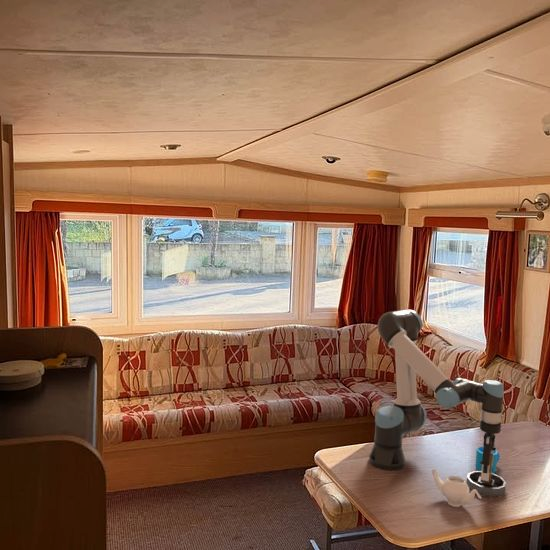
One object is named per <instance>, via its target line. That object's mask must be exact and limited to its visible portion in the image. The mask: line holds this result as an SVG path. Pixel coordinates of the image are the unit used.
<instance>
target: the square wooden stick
mask: <svg viewBox="0 0 550 550" xmlns="http://www.w3.org/2000/svg"><path fill="white" fill-rule="evenodd" d="M492 460H493V454H491V455H490V462H489V463H490V469H489V481H484V480H482V482H484V483H488V484H491V472H492ZM486 462H487V461H486Z"/></svg>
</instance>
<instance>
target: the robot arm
mask: <svg viewBox="0 0 550 550" xmlns="http://www.w3.org/2000/svg"><path fill="white" fill-rule="evenodd" d="M422 329H423V320H422V317H421V316H420V314H418V313H417V312H416V311H415V310H413V309H399V310H393V311H388V312H385V313H383V314H382V315H381V316H380V318H379V319H378V322H377V331H378V335H379V336H380V338H381V339H382V341H383V342H384V343H385V344H386V345H387V347H388V348H390V349H394V357H395V359H394V361H395V378H396V383H395V384H396V398H395V399H394V400H393V405H388V406H387V405H385V406H382V407H379V408H378V409H377V411H376V412H375V418H374V442H373V446H372V448H371V451H370V453H369V456H368V458H369V459H368V462H369V463H370V465H371V466H373V467H374V468H377V469H378V470H379V469H380V470H383V471H392V472H393V471H399V470H400V471H401V470H402V469H404V468H405V466H406V459H405V458H406V457H405V454H404V450H403V436H407V435H409V434H411V433H414V432H417V431H419V430H420V429H421V428H423V427H424V426H425V423H426V421H427V411H426V409H425V408H424V406H423V405H422V403H421V400H420V399H419V398H418V392H417V391H418V390H417V375H418V376H419V377H420V378H421V379H422V380H423V381H424V382H425V384H427V386H428V387H430V388H431V390H432V391H433V392H434V393H435V399H436V401H437V404H438V405H439V406H440V407H442V408H445V409H450V408H454V407H457V406H458V405H461V404H463V403H466V402H468V401H471V402H475V403H479V404H481V405H480V406H481V408H480V420H479V421H480V423H479V429H480V430H481V431H482V432H484V434H483V446H482V447H484V448H483V457H482V462H481V461H480V464H482V470H481V480H484V481H489V469H490V463H489V462H490V455H491V454H494V451H492V450H495V451H497V450H496V448H497V447H495V446H496V445H495V440H496V434H500V433H501V429H502V423H501V422H502V419H503V417H504V414H502V413H503V405H504V397H505V393H504V390H505V389H504V388H505V387H504V384H503V383H502V382H501V381H499V380H494V379H486V380H483V383H480V382H476V381H474V380H469V379H467V378H461V377H456V378H455V379H454V381H453V382H452V381H451V379H449V378H448V377H447V376H446V375H445V374H444V372H442V370H441V369H440V368H439V367H438V366H436V365H435V363H434V362H433V361H432V360H431V359H430V358H429V357H428V356H427V355H426V354H425V352H423V351H422V350H421V349H420V348H419V347H418V346H417V345H416V343H417V342H418V341H419V336H418V335H419V333H420V332H421V331H422ZM486 461H487V462H486ZM492 466H493V460H492Z"/></svg>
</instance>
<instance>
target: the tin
mask: <svg viewBox="0 0 550 550" xmlns="http://www.w3.org/2000/svg"><path fill="white" fill-rule="evenodd" d="M466 483H467V485H468V487H469V491H470V492H471V491H472V490H473V489H476V490H477V492H478V493H479V495H480V496H481V497H485V498H486V497H487V498H500V497H502V496H505V493H506V486H507V481H506V480H505V479H504V478H503V477H502V476H500V475H497V474H496V473H491V484H488V483H484V482H482V480H481V471H478V470H474V471H471V472H468V473H467V476H466Z"/></svg>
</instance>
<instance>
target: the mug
mask: <svg viewBox="0 0 550 550" xmlns="http://www.w3.org/2000/svg"><path fill="white" fill-rule="evenodd" d="M483 448H484V446H478V447H477V448H476V452H475V453H476V454H475V467H476V468H475V470H476V471H478V470H479V471H481V470H482V464H480V461H481V462H482V457H483ZM492 451H494V454H493V466H492V472H491V473H494V474H496V472H497V464H498V462H499V461H500V454H499V451H497V450H496V451H495V450H492Z"/></svg>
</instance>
